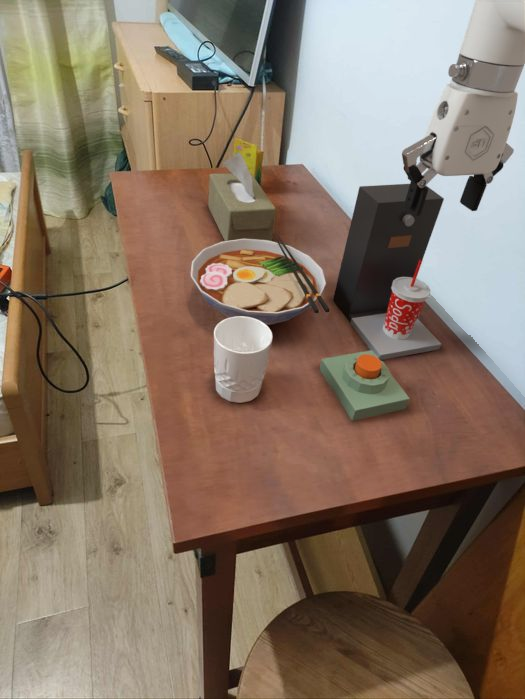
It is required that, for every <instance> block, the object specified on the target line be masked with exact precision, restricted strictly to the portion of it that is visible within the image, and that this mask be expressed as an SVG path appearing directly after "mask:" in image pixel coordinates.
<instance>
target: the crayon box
mask: <svg viewBox="0 0 525 699" xmlns="http://www.w3.org/2000/svg"><path fill="white" fill-rule="evenodd" d="M233 140H234V141H233V151H232V157H234V156H235V155H236V154H238V153H240V154H241V155H242V157H243V159H244V161H245V163H246V166H247V168H248V170H249V172H250V173H251V174H252V175H253V177H254V178H255V180H256V181H257V182H258V184H259V185H260V187H262V186H261V185H262V175H263V163H264V155H265V154H264V151H263V150H260V149H258V145H257V144H253V143H251V142H249V141H245V140H243V139H240V138H238V137H234V138H233Z"/></svg>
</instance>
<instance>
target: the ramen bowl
mask: <svg viewBox="0 0 525 699" xmlns="http://www.w3.org/2000/svg"><path fill="white" fill-rule="evenodd" d="M273 237H274V239H275V241H273V240H272V241H268V240H256V239H237V240H231V241H225V240H224V241H220V242H218V243H215V244H212V245H210V246H207V247H205V248H203V249H202V250H200V252H199V253H198V254H197V255H196V256H195V257H194V258H193V260H191V266H190V267H191V268H190V278H191V280H192V281H193V283H194V286H196V288H197V289H198V291H199V293H200V294H201V296H202V297H203V299H204V300H205V301H206V302H207V303H208V305H210V306H211V307H212V308H213V309H215V310H216V311H218V312H219V313H220V314H222V315H224V316H225V317H227V318H230V317H236V316H245V317H251V318H254V319H257V320H259V321H261V322H263V323H264V324H266V325H267V326H268V325H275V324H278V323H283V322H287V321H290V320H291V319H294V318H295V317H296V316H298V315H300V314H302V313H304V312H305V311H307V310H308V309H309V308H311V310H312V311H313V313H314V314H320V308H319V307H318V305H317V304H316V302H318V303H319V305H320V306H321V308H322V310H323V311H324V312H325V313H326V314H327V313H330V311H331V308H330V307H329V306H328V304H327V302H326V300H324V298H323V297H322V293H323V291H324V289H325V287H326V285H327V281H326V278H325V277H326V276H325V274H324V270H323V268H322V267H321V266H320V265H319V264H318V263H317V262H316V261H315V260H314V259H313V258H312V257H311V256H310V255H308V254H306V253H305V252H302V251H301V250H298V249H296V248H295V247H293V246H291V245H287V244H285V243H284V242H283V240H282V239H281V237H280V236H279V234H278V233H277V232H275V233H274V232H273Z"/></svg>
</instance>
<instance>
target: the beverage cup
mask: <svg viewBox="0 0 525 699" xmlns="http://www.w3.org/2000/svg"><path fill="white" fill-rule="evenodd" d="M423 261H424V259H423V260H422V259H420V260H419V262H418V265H417V268H416V271H415V274H414V277H413V278H411V277H399V278H396V279H395V280H393V283H392V287H391V289H392V293H391V297H390V301H389V305H388V309H387V313H386V317H385V321H384V325H383V331H384V333H385V334H386V335H388V336H389V337H391V338H394V339H401V340H402V339H406V338H407V337H409V335H410V333H411V330H412V328H413V326H414V324H415V322H416V320H417V318H419V316H420V313H421V311H422V309H423V307H424V304H425V302H426V301H427V300H428V299H429V297H430V295H431V290H432V289H431V288H430V287H429V285H428V284H426V283H425V282H424V281H422V280H420V279H418V278H417V277H418V274H419V272H420V269H421V267H422V263H423Z"/></svg>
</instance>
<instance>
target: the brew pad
mask: <svg viewBox="0 0 525 699" xmlns="http://www.w3.org/2000/svg"><path fill="white" fill-rule="evenodd" d="M365 354H368V355H372V356H375V357H377V356H376V354H375V353H374V352H373V350H370V349H369V350H364V351H359V352H353V353H348V354H342V355H337V356H330V357H325V358H321V360H320V365H319V368H318V370H319V371H320V373H321V374H322V376H323V377H324V379H325V381H326V382H327V384H328V385H329V387H330V389H331V390H332V392H333V393H334V395H335V396H336V398H337V399H338V401H339V403H340V404H341V406H342V408H343V409H344V411H345V413H346V414H347V416H348V417H349V419H350V420H351V422H354V421H358V420H362V419H366V418H367V419H368V418H371V417H375V416H379V415H384V414H389V413H393V412H397V411H403V410H406V409H407V406H408V404H409V403H410V402H409V401H410V397H409V396H408V394H407V393H406V392H405V391H404V389H403V388H402V386H401V385H400V384H399V383H398V382H397V380H396V379H395V378H394V376H393V375H392V373H391V372H390V369H389V368H388V366H387V365H386V364H385V362H384V361H383V360H380V359H379V358H378V357H377V358H378V359H379V360H380V361H381V364H382V367H381V370H380V373H379V375H378V377H377V378H375V379H365V378H362V377H361V376H359V375H357V373H356V372H355V365H356V362H357V359H358V357H359V356H361V355H365Z"/></svg>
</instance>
